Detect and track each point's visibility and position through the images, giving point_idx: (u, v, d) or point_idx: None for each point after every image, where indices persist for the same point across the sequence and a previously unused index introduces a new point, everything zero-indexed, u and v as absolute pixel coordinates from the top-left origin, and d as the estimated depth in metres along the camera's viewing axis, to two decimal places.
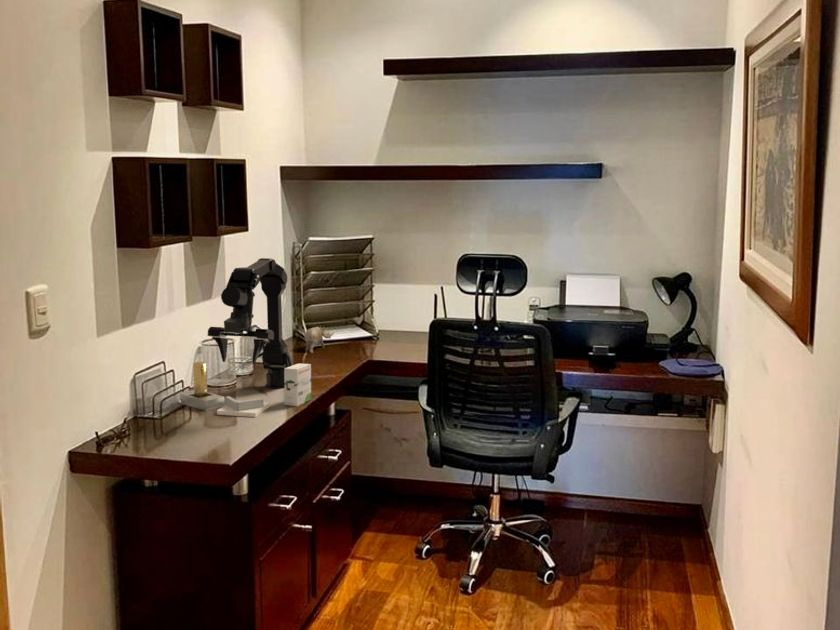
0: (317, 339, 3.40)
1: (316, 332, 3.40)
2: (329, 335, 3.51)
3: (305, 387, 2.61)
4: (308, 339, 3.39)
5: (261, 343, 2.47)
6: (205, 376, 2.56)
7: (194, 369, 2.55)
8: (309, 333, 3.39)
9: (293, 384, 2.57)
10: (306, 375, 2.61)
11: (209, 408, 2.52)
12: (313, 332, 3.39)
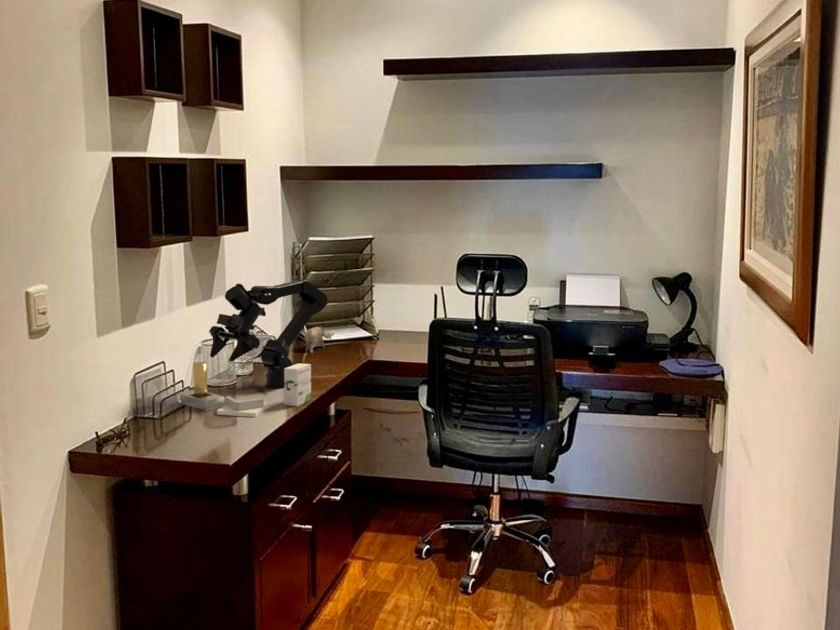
0: (317, 339, 3.40)
1: (316, 332, 3.40)
2: (329, 335, 3.50)
3: (305, 387, 2.61)
4: (308, 339, 3.39)
5: (245, 347, 2.61)
6: (205, 376, 2.56)
7: (194, 369, 2.55)
8: (309, 333, 3.39)
9: (293, 384, 2.57)
10: (306, 375, 2.61)
11: (209, 408, 2.52)
12: (313, 332, 3.39)
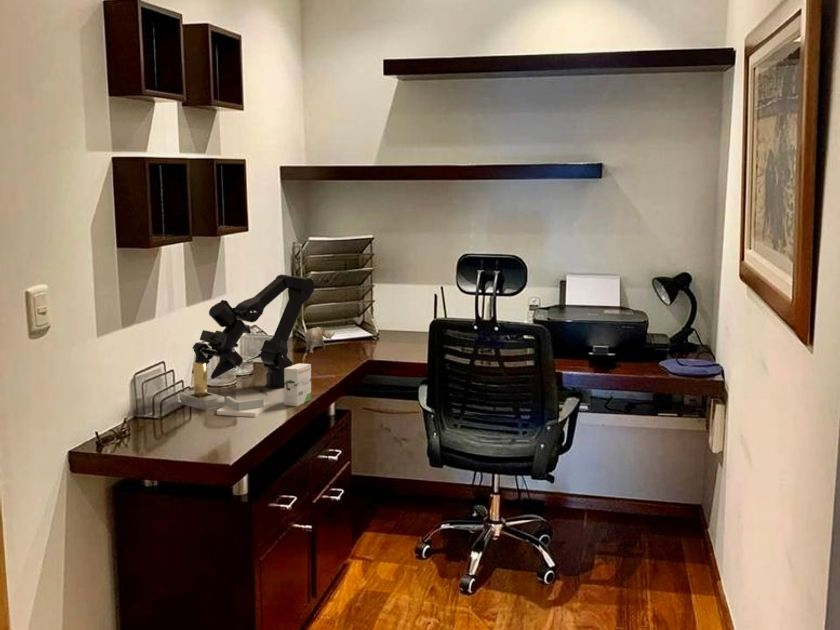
0: (317, 339, 3.39)
1: (316, 332, 3.40)
2: (330, 335, 3.50)
3: (305, 387, 2.61)
4: (308, 339, 3.39)
5: (228, 365, 2.57)
6: (205, 376, 2.56)
7: (194, 369, 2.55)
8: (309, 333, 3.39)
9: (293, 384, 2.57)
10: (306, 375, 2.61)
11: (209, 408, 2.52)
12: (313, 332, 3.39)
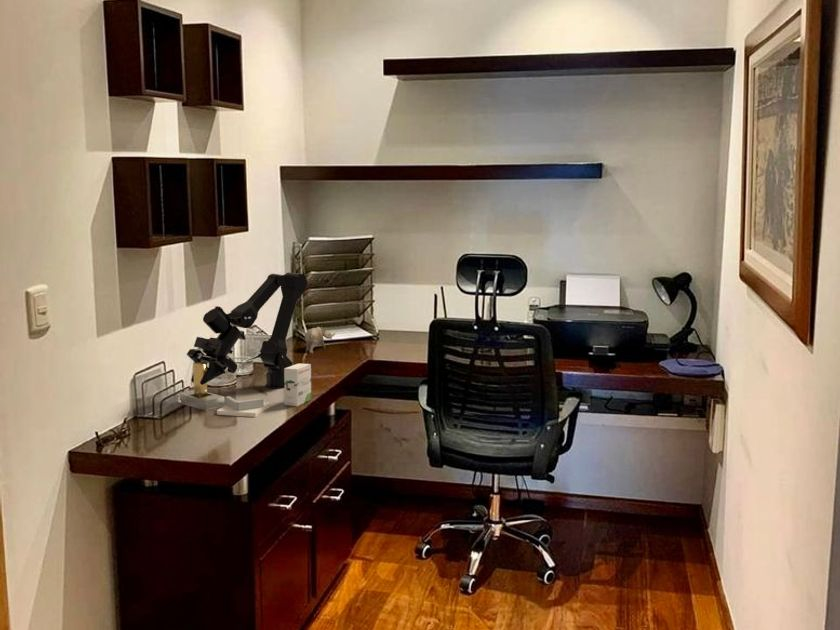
0: (317, 339, 3.39)
1: (316, 332, 3.39)
2: (330, 335, 3.50)
3: (305, 387, 2.61)
4: (308, 339, 3.39)
5: (217, 371, 2.57)
6: None
7: (194, 369, 2.55)
8: (309, 333, 3.38)
9: (293, 384, 2.57)
10: (306, 375, 2.61)
11: (209, 408, 2.52)
12: (313, 332, 3.38)
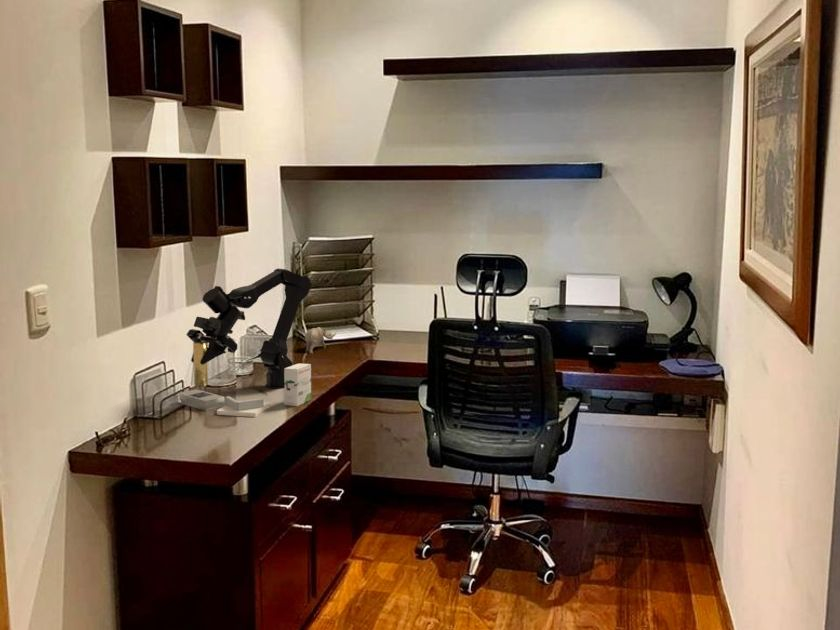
0: (317, 340, 3.39)
1: (316, 333, 3.39)
2: (331, 336, 3.49)
3: (305, 387, 2.61)
4: (308, 339, 3.38)
5: (217, 350, 2.56)
6: None
7: (194, 349, 2.54)
8: (309, 333, 3.38)
9: (293, 384, 2.57)
10: (306, 375, 2.61)
11: (209, 408, 2.52)
12: (313, 332, 3.38)
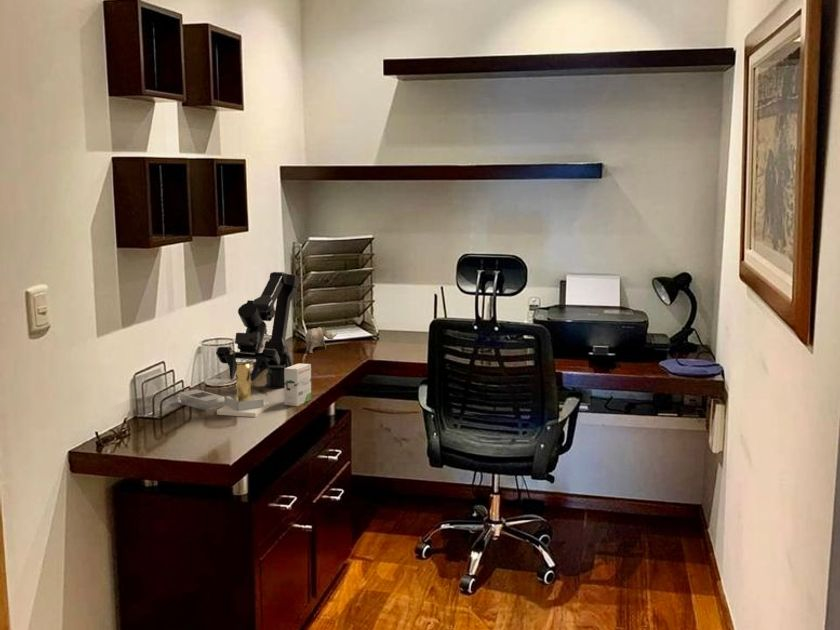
0: (317, 340, 3.38)
1: (316, 333, 3.38)
2: (332, 336, 3.49)
3: (305, 387, 2.61)
4: (308, 340, 3.38)
5: (262, 365, 2.53)
6: (249, 376, 2.51)
7: (240, 370, 2.49)
8: (309, 334, 3.38)
9: (293, 384, 2.57)
10: (306, 375, 2.61)
11: (209, 408, 2.52)
12: (313, 333, 3.38)
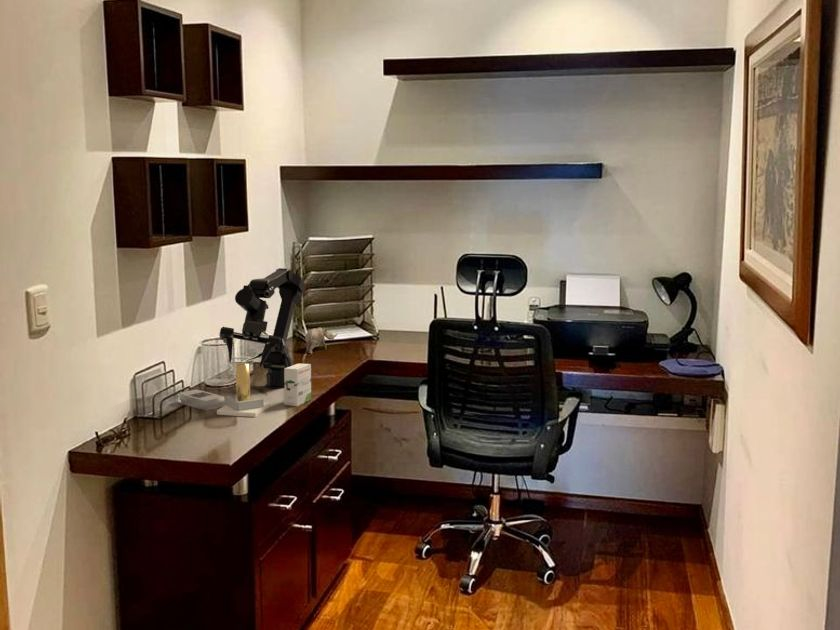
0: (317, 340, 3.38)
1: (316, 333, 3.38)
2: (332, 336, 3.48)
3: (305, 387, 2.61)
4: (308, 340, 3.38)
5: None
6: (249, 376, 2.51)
7: (239, 370, 2.49)
8: (309, 334, 3.37)
9: (293, 384, 2.57)
10: (306, 375, 2.61)
11: (209, 408, 2.52)
12: (313, 333, 3.37)
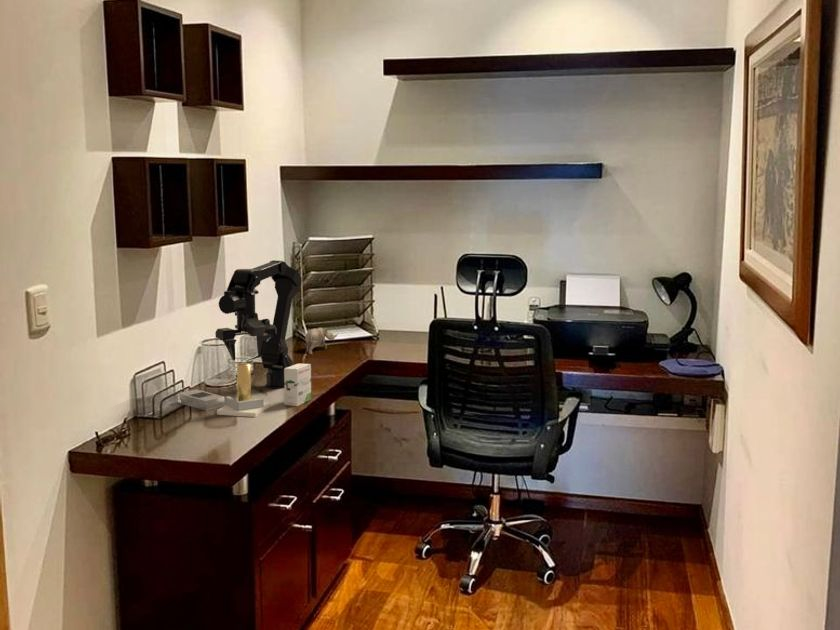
0: (317, 340, 3.38)
1: (316, 333, 3.38)
2: (332, 336, 3.48)
3: (305, 387, 2.61)
4: (308, 340, 3.37)
5: None
6: (250, 377, 2.51)
7: (241, 370, 2.48)
8: (309, 334, 3.37)
9: (293, 384, 2.57)
10: (306, 375, 2.61)
11: (209, 408, 2.52)
12: (313, 333, 3.37)
